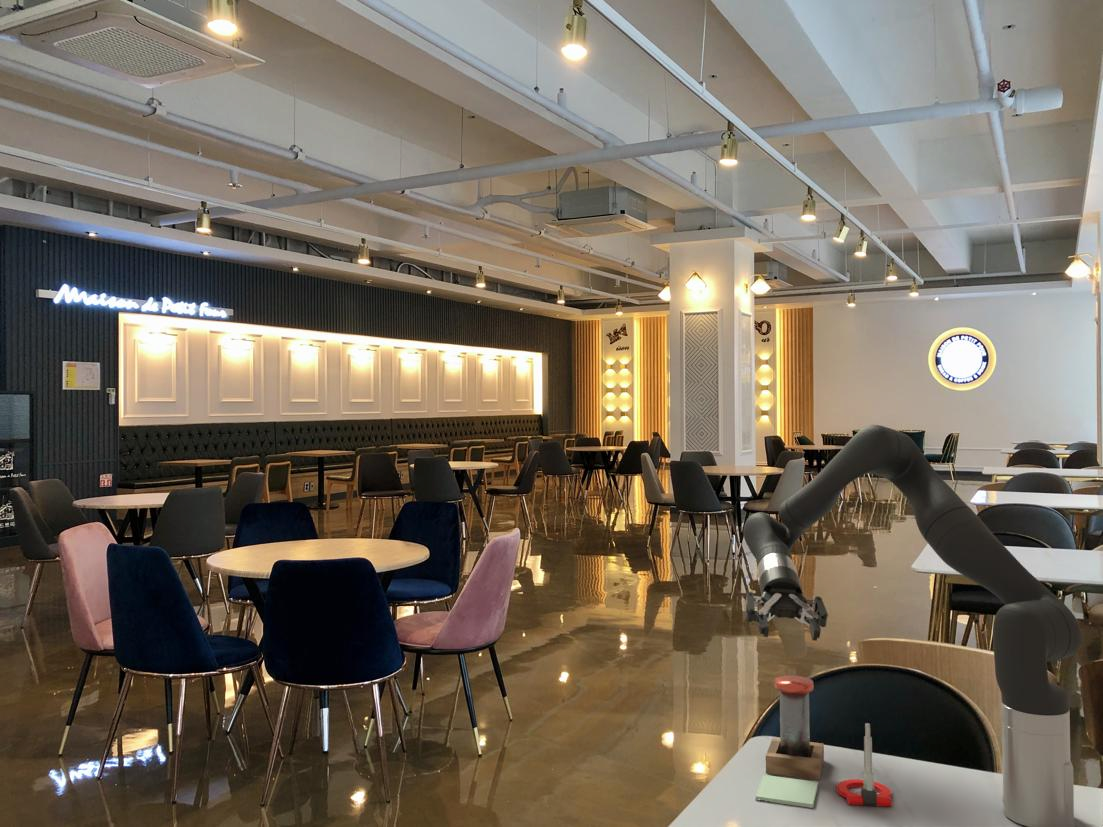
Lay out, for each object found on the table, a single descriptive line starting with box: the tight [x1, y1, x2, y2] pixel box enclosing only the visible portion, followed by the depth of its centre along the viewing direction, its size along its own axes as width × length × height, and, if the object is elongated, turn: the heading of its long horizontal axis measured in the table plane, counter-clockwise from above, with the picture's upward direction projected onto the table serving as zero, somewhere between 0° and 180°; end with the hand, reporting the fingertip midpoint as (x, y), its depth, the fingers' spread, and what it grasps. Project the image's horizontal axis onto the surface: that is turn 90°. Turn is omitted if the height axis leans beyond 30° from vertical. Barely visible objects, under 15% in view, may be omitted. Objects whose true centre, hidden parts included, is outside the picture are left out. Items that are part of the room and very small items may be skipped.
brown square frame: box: [765, 737, 825, 781], centre depth 159 cm, size 9×9×3 cm
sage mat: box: [755, 774, 819, 809], centre depth 148 cm, size 9×9×1 cm
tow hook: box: [836, 722, 892, 807], centre depth 147 cm, size 8×13×9 cm
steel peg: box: [774, 675, 814, 758], centre depth 159 cm, size 7×7×15 cm
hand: (790, 634), depth 158 cm, fingers open, 8 cm apart
